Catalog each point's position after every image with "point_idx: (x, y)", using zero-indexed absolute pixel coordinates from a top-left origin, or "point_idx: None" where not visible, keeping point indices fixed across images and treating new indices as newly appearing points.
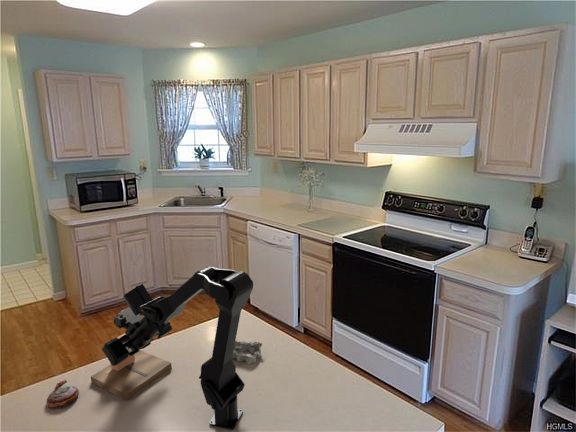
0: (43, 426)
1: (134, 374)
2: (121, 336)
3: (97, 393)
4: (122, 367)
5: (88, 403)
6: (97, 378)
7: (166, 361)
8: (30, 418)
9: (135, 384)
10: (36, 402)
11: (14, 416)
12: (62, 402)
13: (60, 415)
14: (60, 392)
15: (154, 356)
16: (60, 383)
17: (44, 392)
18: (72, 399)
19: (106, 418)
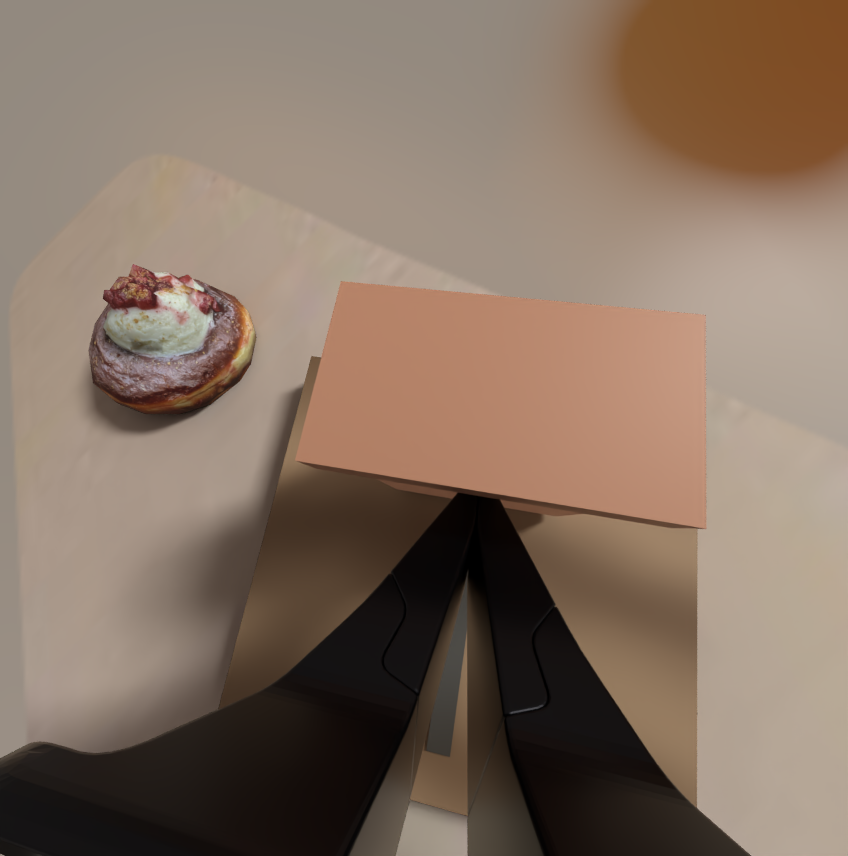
0: (19, 420)
1: None
2: (578, 339)
3: (259, 476)
4: (436, 495)
5: (181, 494)
6: (304, 410)
7: None
8: (59, 327)
9: None
10: (148, 263)
11: (64, 261)
12: (103, 390)
13: (87, 432)
14: (109, 337)
15: (690, 629)
16: (109, 291)
17: (211, 236)
18: (147, 411)
19: (91, 696)
